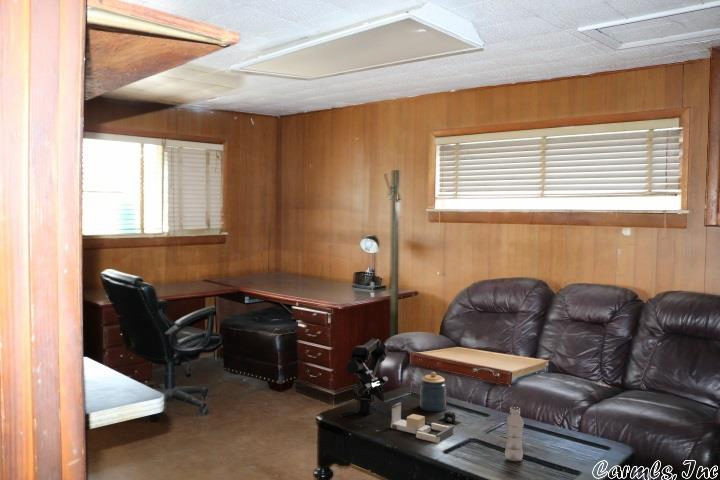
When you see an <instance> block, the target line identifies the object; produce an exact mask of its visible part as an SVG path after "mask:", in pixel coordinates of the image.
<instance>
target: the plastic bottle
mask: <svg viewBox="0 0 720 480" xmlns="http://www.w3.org/2000/svg"><path fill="white" fill-rule="evenodd" d="M505 422H506V424H505V425H506V446H505V452H504V454H505V458H506V459H507V460H508V461H512V462H519V461H522V460H523V456H524V451H523V443H522V442H523V440H522V439H523V429H524V426H525V425H524V423H525V422H524V419H523V418H522V417H521V408H520V407H517V406H516V407H515V406H512V407H510V408H509V415H508V416H507V418H506V421H505Z"/></svg>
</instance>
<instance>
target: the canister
mask: <svg viewBox="0 0 720 480" xmlns="http://www.w3.org/2000/svg"><path fill="white" fill-rule="evenodd" d="M419 385H420V389H419V395H420V396H419V407H420V409H422V410H424V411H428V412H441V411H444V410H446V407H447V389H446V387H447V385H448V384H447V383H446V378H444V377H443V376H442V375H440V374H439V375H438V374H437V373H436V372H435V371H432V372H430V374H426V375H424V376H422V377H421V381H420V382H419Z"/></svg>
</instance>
